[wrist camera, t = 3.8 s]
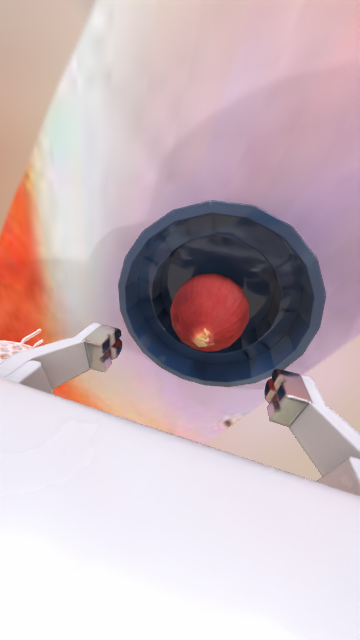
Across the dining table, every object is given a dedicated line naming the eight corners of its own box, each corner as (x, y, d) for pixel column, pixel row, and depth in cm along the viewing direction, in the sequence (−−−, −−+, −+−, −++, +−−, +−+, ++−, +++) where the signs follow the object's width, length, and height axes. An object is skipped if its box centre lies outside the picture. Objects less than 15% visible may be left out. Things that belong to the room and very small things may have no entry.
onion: (216, 331, 19) (206, 394, 12) (172, 297, 18) (136, 345, 12) (260, 290, 16) (279, 347, 9) (208, 249, 15) (188, 275, 8)
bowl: (336, 219, 12) (388, 221, 8) (263, 365, 20) (271, 404, 16) (145, 195, 15) (110, 187, 10) (144, 334, 22) (123, 362, 18)
